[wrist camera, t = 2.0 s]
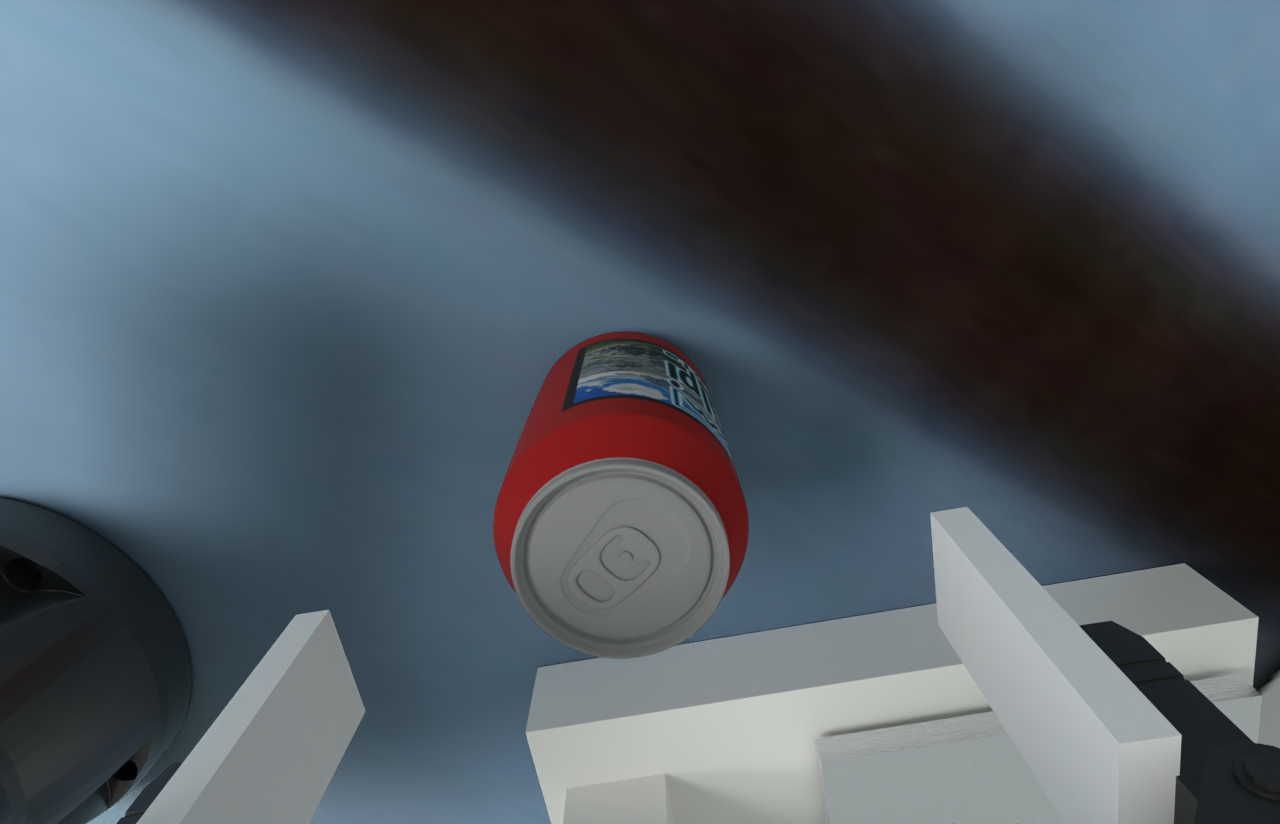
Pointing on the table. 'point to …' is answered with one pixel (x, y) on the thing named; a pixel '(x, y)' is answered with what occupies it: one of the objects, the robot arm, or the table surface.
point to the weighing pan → (962, 768)
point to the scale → (811, 701)
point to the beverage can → (621, 501)
